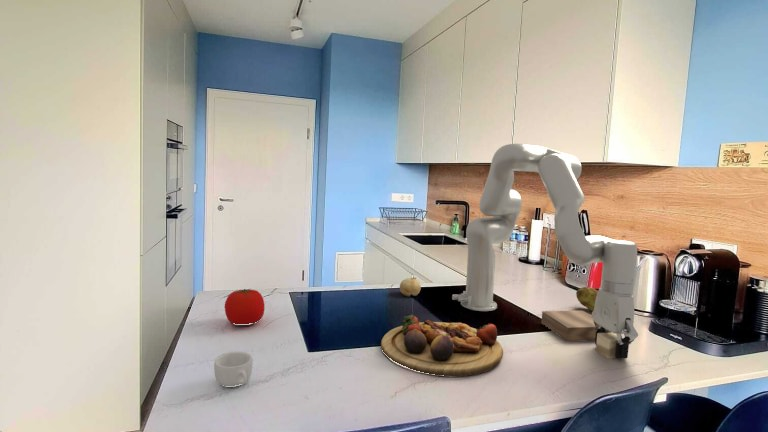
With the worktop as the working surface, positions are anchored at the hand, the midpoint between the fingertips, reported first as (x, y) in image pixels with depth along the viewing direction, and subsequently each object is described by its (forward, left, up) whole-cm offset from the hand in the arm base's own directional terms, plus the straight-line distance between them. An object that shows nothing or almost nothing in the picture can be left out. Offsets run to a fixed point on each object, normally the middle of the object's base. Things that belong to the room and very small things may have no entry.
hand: (610, 350), depth 113 cm
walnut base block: (0, +16, -1) cm, 16 cm away
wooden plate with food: (-45, +7, -2) cm, 46 cm away
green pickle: (+19, +33, -1) cm, 38 cm away
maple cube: (0, 0, -1) cm, 1 cm away
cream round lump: (-43, +55, -1) cm, 70 cm away
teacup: (-95, -8, -1) cm, 95 cm away
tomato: (-99, +28, -1) cm, 103 cm away
